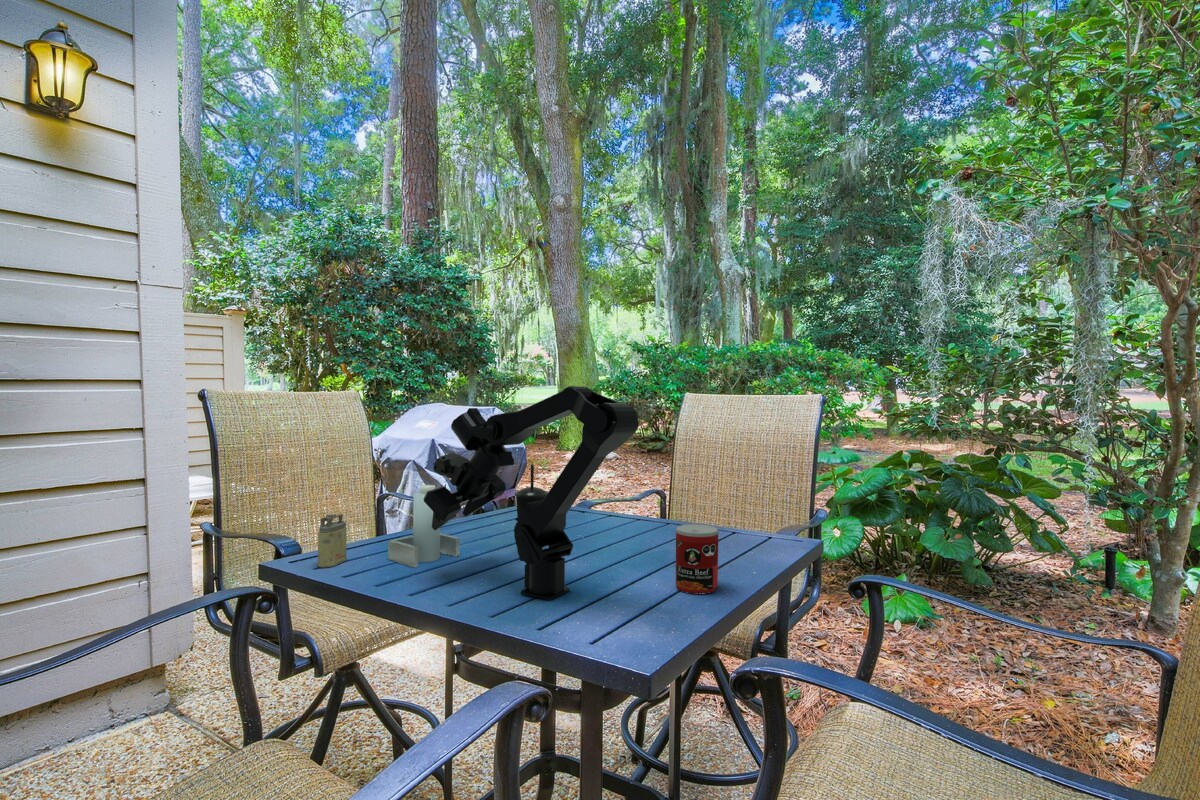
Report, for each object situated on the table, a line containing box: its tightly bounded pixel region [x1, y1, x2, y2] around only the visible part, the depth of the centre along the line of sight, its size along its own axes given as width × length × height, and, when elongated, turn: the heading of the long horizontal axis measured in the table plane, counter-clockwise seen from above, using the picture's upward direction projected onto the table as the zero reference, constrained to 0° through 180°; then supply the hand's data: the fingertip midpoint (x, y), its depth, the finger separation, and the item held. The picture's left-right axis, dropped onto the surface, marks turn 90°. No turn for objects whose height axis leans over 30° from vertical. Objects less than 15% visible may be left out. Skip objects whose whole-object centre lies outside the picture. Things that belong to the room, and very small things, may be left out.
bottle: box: [412, 484, 441, 563], centre depth 125 cm, size 6×6×16 cm
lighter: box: [317, 513, 348, 568], centre depth 121 cm, size 7×4×10 cm, turn 171°
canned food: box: [675, 523, 719, 595], centre depth 107 cm, size 8×8×11 cm
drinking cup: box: [514, 463, 549, 550], centre depth 130 cm, size 8×8×20 cm
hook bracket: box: [387, 532, 461, 569], centre depth 126 cm, size 10×12×7 cm
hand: (449, 521), depth 120 cm, fingers open, 9 cm apart
